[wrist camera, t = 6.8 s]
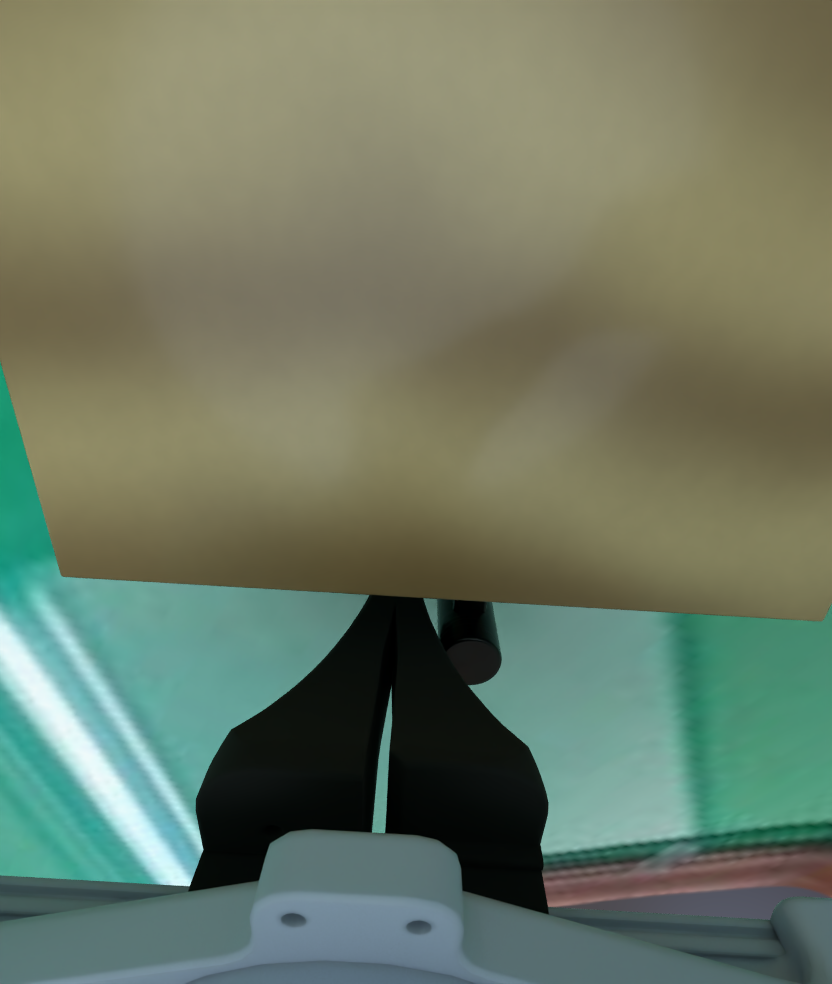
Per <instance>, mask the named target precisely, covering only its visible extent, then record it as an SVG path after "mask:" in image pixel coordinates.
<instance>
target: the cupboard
mask: <svg viewBox="0 0 832 984" xmlns="http://www.w3.org/2000/svg"><path fill="white" fill-rule="evenodd" d="M0 362H1V365H2V369H3V372H4V376H5V380H6V383H7V387H8V390H9V394H10V397H11V401H12V404H13V408H14V411H15V415H16V418H17V422H18V425H19V429H20V432H21V436H22V439H23V443H24V446H25V450H26V453H27V457H28V460H29V464H30V468H31V471H32V475H33V478H34V482H35V485H36V489H37V492H38V496H39V499H40V503H41V506H42V510H43V513H44V517H45V520H46V524H47V527H48V531H49V534H50V538H51V541H52V545H53V549H54V552H55V556H56V559H57V563H58V566H59V570H60V573H61V576H63V577H75V578H92V579H109V580H126V581H143V582H160V583H177V584H194V585H211V586H228V587H245V588H263V589H280V590H297V591H314V592H331V593H348V594H365V595H382V596H399V597H416V598H433V599H450V600H467V601H484V602H501V603H518V604H535V605H552V606H569V607H586V608H603V609H620V610H637V611H654V612H671V613H688V614H705V615H722V616H739V617H756V618H773V619H790V620H807V621H823V620H824V618H825V616H826V614H827V612H828V610H829V608H830V606H831V603H832V0H0Z"/></svg>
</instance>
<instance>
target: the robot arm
mask: <svg viewBox="0 0 832 984" xmlns="http://www.w3.org/2000/svg"><path fill="white" fill-rule="evenodd" d="M391 685H392V730H391V740H390V750H389V770H388V791H387V812H386V829H385V833H372V825H373V814H374V802H375V791H376V780H377V769H378V759H379V752H380V744H381V739H382V734H383V728H384V723H385V717H386V712H387V706H388V701H389V696H390V690H391ZM196 814H197V819H198V824H199V830H200V835H201V840H202V845H203V849H204V850H203V852H202V855H201V858H200V860H199V863H198V866H197V868H196V871H195V874H194V877H193V879H192V882H191V885H190V886H173V885H156V884H139V883H121V882H104V881H87V880H69V879H52V878H35V877H17V876H0V984H832V899H831V898H813V897H790V898H787V899H785V900H782V901H781V902H780V903H779V904H777V905H776V907H775V909H774V911H773V913H772V916H771V919H770V920H762V919H745V918H727V917H709V916H693V915H692V916H691V915H675V914H658V913H640V912H622V911H606V910H589V909H571V908H554V907H548V905H547V899H546V894H545V888H544V883H543V877H542V871H541V870H543V857H542V851H541V846H540V843H541V839H542V835H543V831H544V827H545V824H546V820H547V816H548V799H547V794H546V791H545V787H544V784H543V781H542V778H541V775H540V773H539V770H538V768H537V765H536V763H535V760H534V758H533V756H532V754H531V751H530V749H529V747H528V746H527V745H526V744H524V743H523V742H522V741H521V740H520V739H519V738H517V737H516V736H515V735H514V734H513V733H511V732H510V731H509V730H508V729H507V728H506V727H504V726H503V725H502V724H501V723H500V722H499V721H498V720H497V719H496V718H495V717H494V716H493V715H492V714H491V712H490V711H489V710H488V709H487V708H486V707H485V705H484V704H483V703H482V702H481V701H480V700H479V698H478V697H477V696H476V695H475V694H474V693H473V691H472V690H471V689H470V687H469V686H468V685H467V683H466V682H465V681H464V679H463V678H462V676H461V675H460V674H459V672H458V671H457V669H456V668H455V666H454V664H453V663H452V661H451V660H450V658H449V656H448V654H447V653H446V651H445V649H444V647H443V645H442V643H441V641H440V639H439V637H438V635H437V633H436V631H435V629H434V626H433V624H432V622H431V620H430V617H429V614H428V612H427V609H426V606H425V603H424V599H423V598H416V597H399V596H382V595H369V597H368V599H367V601H366V603H365V604H364V606H363V608H362V609H361V611H360V613H359V614H358V616H357V617H356V619H355V620H354V621H353V623H352V624H351V626H350V627H349V629H348V630H347V631H346V633H345V634H344V635H343V637H342V638H341V639H340V640H339V642H338V643H337V644H336V645H335V647H334V648H333V649H332V650H331V651H330V652H329V654H328V655H327V656H326V657H325V658H324V659H323V660H322V661H321V662H320V663H319V664H318V665H317V666H316V667H315V668H314V669H313V670H312V671H311V672H310V673H309V674H308V675H307V676H306V677H305V678H304V679H303V680H302V681H300V682H299V683H298V684H297V685H296V686H295V687H294V688H292V689H291V690H290V691H289V692H287V693H286V694H285V695H283V696H282V697H281V698H279V699H278V700H277V701H275V702H274V703H273V704H271V705H270V706H269V707H267V708H266V709H264V710H263V711H262V712H260V713H258V714H257V715H255V716H253V717H252V718H250V719H248V720H247V721H245V722H243V723H242V724H240V725H238V726H237V727H235V728H233V729H232V730H231V731H230V732H229V734H228V735H227V737H226V738H225V740H224V741H223V743H222V745H221V746H220V748H219V750H218V752H217V753H216V755H215V757H214V758H213V760H212V762H211V764H210V766H209V768H208V771H207V773H206V776H205V778H204V780H203V783H202V785H201V788H200V790H199V793H198V795H197V798H196Z"/></svg>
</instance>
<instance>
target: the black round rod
mask: <svg viewBox="0 0 832 984" xmlns="http://www.w3.org/2000/svg"><path fill="white" fill-rule="evenodd" d="M437 611H438V637H439V639H440V641H441V643H442V645H443V647H444V649H445V651H446V653H447V654H448V656H449V658H450V660H451V661H452V663H453V664H454V666H455V668H456V669H457V671H458V672H459V674H460V675H461V676H462V678H463V679H464V681H465V682H466V683H467V685H476V684H481V683H484V682H486V681H488V680H490V679H491V678H492V677H493V676H495V674H496V673H497V672H498V670H499V668H500V666H501V661H502V658H501V651H500V646H499V640H498V634H497V628H496V623H495V617H494V611H493V606H492V602H484V601H467V600H450V599H437Z"/></svg>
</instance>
